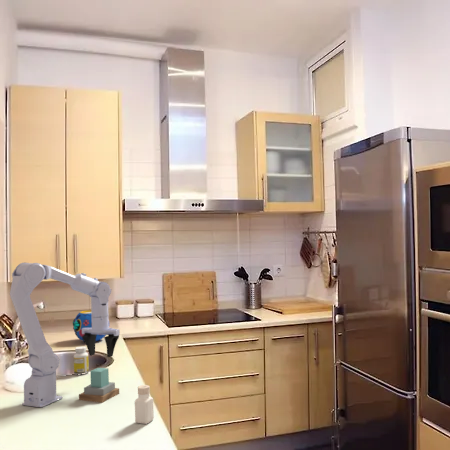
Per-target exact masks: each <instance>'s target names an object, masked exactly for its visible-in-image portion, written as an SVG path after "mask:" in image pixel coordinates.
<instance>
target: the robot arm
mask: <svg viewBox="0 0 450 450" xmlns="http://www.w3.org/2000/svg"><path fill="white" fill-rule="evenodd" d="M11 278H12V280H11V286H10V291H9V296H10V299H11V301H12V302H11V303H12V305H13V308H14V310H15V313H16V315H17V318H18V320H19V321H18V322H19V323H20V327H21V329H22V331H23V334H24V336H25V337H24V338H25V339H26V342H27V344H28V345H27V346H28V349H27V354H28V361H27V363H28V364H29V366H30V368H31V369H32V370H31V375H30V377H28V378H27V379H26V380H25V381H24V382H23V402H22V403H21V404H22V406H28V407H37V408H44V407H46V406H48V405H51V404H52V403H53V404H54V403H55V402H56V401H59V400H62V399H63V396H62V395H57V369H58V368H59V366H60V359H59V356H58V354H56V353H54V351H53V348H52V346H51V345H50V344H49V343H48V341H47V339H46V337H45V334H44V331H43V329H42V325H41V323H40V321H39V320H40V319H39V318H38V314H37V313H36V310H35V307H34V303H33V301H32V298H31V295H32V293H33V291H34V290H35V288H36V287H37V286H38V285H40V283H42V282H43V280H49V279H50V280H51V279H52V280H54V281H57V282H61V283H64V284H68V285H69V286H70V288H71V290H73V291H76V292H78V293H82V294H84V295H86V296H87V295H88V296H89V297H90V302H91V303H90V304H91V305H90V307H91V309H90V310H91V314H92V328H82V334H85V335H84V336H82V339H83V340H84V341H83V340H82V341H83V342H84V344H85V347H86V349H87V351H88V352H87V353H88V356H94V355H96V342H97V341H96V336H97V334H98V335H106V336H105V337H104V338H103V339H104V341H105V345H106V355H107V358H111V357H114V351H115V348H116V345H117V341H118V340H119V338H120V335H121V334H120V328H119V329H118V328H113V327H110V319H109V316H110V315H109V297H110V296H111V294H112V289H111V287H110V284H108V282H106V281H99V279H98V278H96V277H90V276H87V273H84V272H81V273H77V274H75V275H73V274H70V273H68V272H66V271H63V270H61V269H58V268H55V267H54V266H51V265H47V264H41V263H38V262H21V263H19V264H18V265H17V266H16V267H15V269H14V270H13V272H12V273H11Z"/></svg>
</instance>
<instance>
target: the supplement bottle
mask: <svg viewBox="0 0 450 450" xmlns="http://www.w3.org/2000/svg"><path fill="white" fill-rule="evenodd" d="M74 349H75V350H74V352H75V353H74V354H73V373H74V375H76V376H78V375H77V374H80V375H79V376H82V375H81V374H82V373H85V374H84V375H87V374H86V372H88V373H89V372H90V371H89V370H90V369H89V367H90V365H89V352H87V346H76V347H75V348H74Z"/></svg>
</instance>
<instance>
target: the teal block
mask: <svg viewBox="0 0 450 450" xmlns="http://www.w3.org/2000/svg"><path fill="white" fill-rule="evenodd" d="M89 372H90V384H91V387H99V388H102V387H104V386H106V385H108V384H109V382H110V381H109V380H110V377H109V368H107V367H97V368H94V369H92V370H90V371H89Z"/></svg>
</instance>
